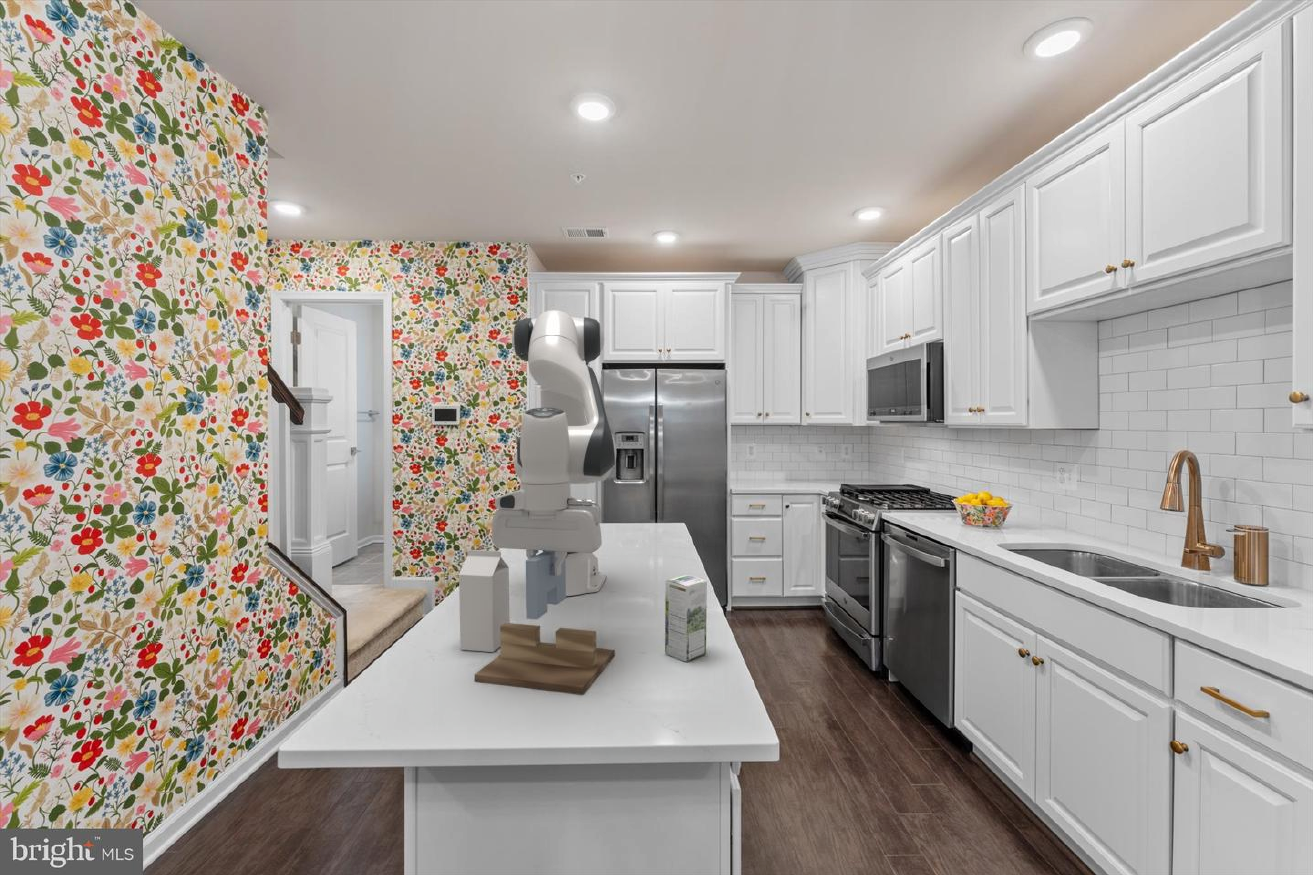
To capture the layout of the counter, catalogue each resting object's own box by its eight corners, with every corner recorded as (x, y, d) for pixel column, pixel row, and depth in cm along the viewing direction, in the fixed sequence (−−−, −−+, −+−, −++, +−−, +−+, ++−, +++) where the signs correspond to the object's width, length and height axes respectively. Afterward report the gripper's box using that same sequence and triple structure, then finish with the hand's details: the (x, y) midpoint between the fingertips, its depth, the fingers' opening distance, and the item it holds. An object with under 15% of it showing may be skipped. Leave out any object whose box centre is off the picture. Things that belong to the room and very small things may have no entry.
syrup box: (684, 645, 115) (684, 573, 114) (707, 654, 111) (707, 579, 110) (664, 654, 111) (664, 579, 110) (687, 663, 107) (686, 585, 106)
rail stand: (519, 645, 115) (519, 610, 115) (614, 655, 110) (614, 618, 110) (474, 681, 100) (473, 639, 100) (582, 694, 95) (582, 651, 95)
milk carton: (493, 653, 112) (492, 555, 112) (460, 650, 114) (458, 554, 113) (510, 639, 119) (508, 547, 118) (478, 636, 120) (476, 546, 120)
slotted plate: (556, 597, 111) (555, 545, 110) (565, 598, 110) (565, 546, 110) (526, 618, 99) (525, 560, 99) (537, 619, 99) (536, 561, 98)
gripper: (606, 497, 105) (607, 573, 105) (504, 494, 110) (505, 566, 110) (593, 502, 98) (594, 582, 99) (486, 498, 104) (487, 575, 104)
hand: (546, 574), depth 105 cm, fingers closed on slotted plate, 2 cm apart
